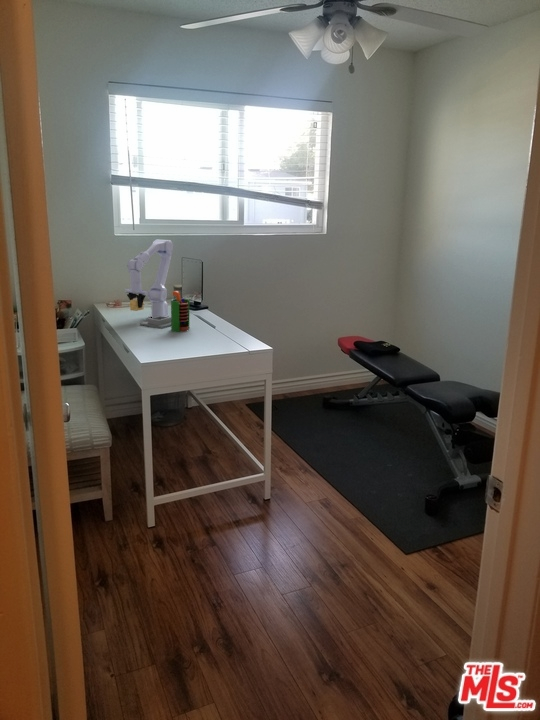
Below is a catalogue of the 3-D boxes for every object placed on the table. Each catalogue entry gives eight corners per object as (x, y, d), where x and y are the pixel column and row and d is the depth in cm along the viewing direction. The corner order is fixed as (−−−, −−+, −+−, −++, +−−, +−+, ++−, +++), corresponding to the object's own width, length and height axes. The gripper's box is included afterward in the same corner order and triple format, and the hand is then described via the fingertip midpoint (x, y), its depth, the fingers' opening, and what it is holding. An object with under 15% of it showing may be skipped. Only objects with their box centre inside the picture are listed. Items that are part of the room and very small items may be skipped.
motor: (184, 332, 276) (184, 293, 271) (168, 331, 278) (167, 292, 273) (191, 328, 286) (190, 290, 281) (175, 327, 288) (174, 289, 282)
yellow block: (139, 308, 301) (139, 296, 299) (145, 308, 299) (145, 297, 297) (128, 310, 293) (127, 299, 292) (134, 311, 292) (133, 299, 290)
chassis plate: (157, 320, 303) (157, 314, 302) (178, 323, 296) (178, 317, 295) (140, 325, 291) (140, 318, 290) (162, 328, 284) (161, 321, 283)
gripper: (120, 281, 292) (121, 306, 296) (140, 284, 285) (142, 309, 289) (129, 280, 298) (130, 304, 302) (149, 282, 291) (150, 307, 295)
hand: (136, 307), depth 296 cm, fingers closed on yellow block, 4 cm apart
